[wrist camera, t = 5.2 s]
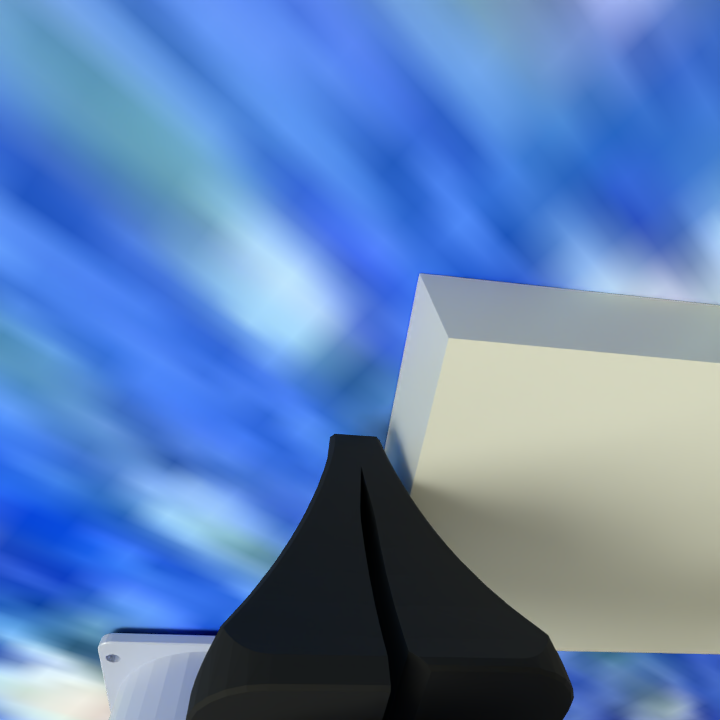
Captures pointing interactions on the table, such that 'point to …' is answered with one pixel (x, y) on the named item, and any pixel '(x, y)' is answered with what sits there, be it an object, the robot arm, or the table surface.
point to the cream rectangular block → (570, 455)
